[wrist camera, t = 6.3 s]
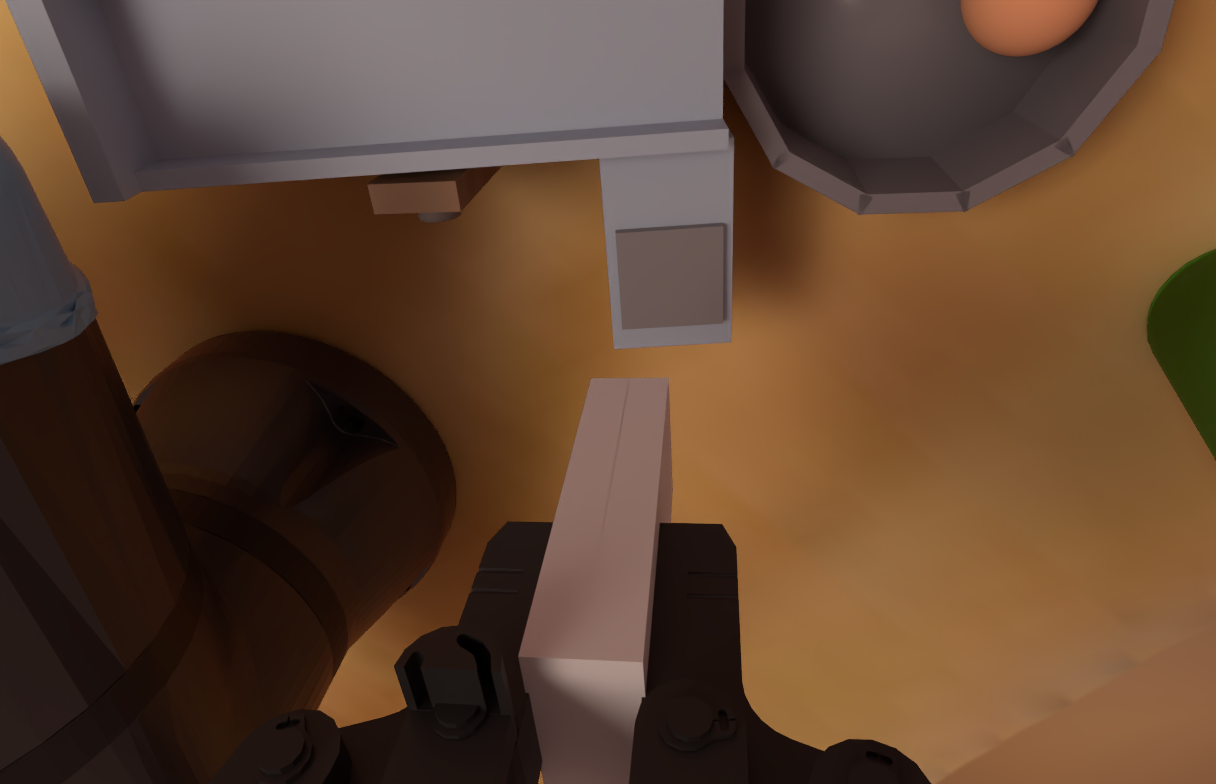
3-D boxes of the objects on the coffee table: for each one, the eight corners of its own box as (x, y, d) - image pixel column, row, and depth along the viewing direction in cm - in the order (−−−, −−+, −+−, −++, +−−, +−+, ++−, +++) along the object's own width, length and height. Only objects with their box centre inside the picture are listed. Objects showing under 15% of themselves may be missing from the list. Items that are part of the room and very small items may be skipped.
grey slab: (228, 357, 25) (182, 406, 22) (72, -48, 19) (-14, -45, 16) (727, 327, 24) (740, 374, 21) (731, -106, 18) (750, -113, 15)
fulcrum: (284, 163, 29) (137, 243, 21) (202, -114, 24) (-20, -132, 17) (706, 143, 26) (702, 226, 19) (704, -166, 22) (699, -213, 15)
